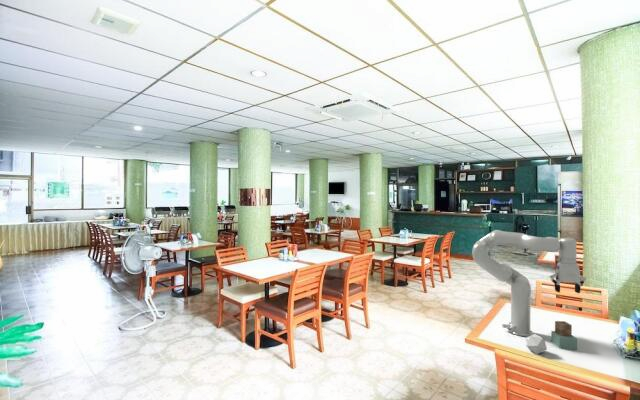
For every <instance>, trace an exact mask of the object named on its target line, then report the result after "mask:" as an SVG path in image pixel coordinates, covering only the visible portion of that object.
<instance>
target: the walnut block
mask: <svg viewBox="0 0 640 400" xmlns="http://www.w3.org/2000/svg"><path fill="white" fill-rule="evenodd" d="M554 331H555V332H556V333H557V334H559V335H560V336H569V337H572V335H573V334H572V324H571V323H569V322H566V321H562V320H561V321H560V320H559V321H558V320H555V321H554Z"/></svg>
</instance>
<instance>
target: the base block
mask: <svg viewBox="0 0 640 400" xmlns="http://www.w3.org/2000/svg"><path fill="white" fill-rule="evenodd" d="M550 341H551V342H552V344H553V345H555V346H556V347H557V348H558V349H563V350H572V351H576V350H578V338H577V336H574V335H573V334H572V337H569V336H560V335H559V334H557V333H556V332H555V330H551V338H550Z"/></svg>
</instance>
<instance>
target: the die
mask: <svg viewBox="0 0 640 400" xmlns="http://www.w3.org/2000/svg"><path fill="white" fill-rule="evenodd" d="M524 340H525V346H526V347H527V349H528V350H529V351H531V352H532V353H533V354H535V355H538V354H541V353H542V352H546V351H547V344H546V340H544V338H543V337H541V336H540V335H537V334H536V333H534V334H533V335H531V336H529V337H525V338H524Z"/></svg>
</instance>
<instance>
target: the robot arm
mask: <svg viewBox="0 0 640 400" xmlns="http://www.w3.org/2000/svg"><path fill="white" fill-rule="evenodd" d="M497 246H502V247H503V246H504V247H513V248H520V249H525V250H532V251H537V252H538V251H539V252H546V253H547V252H548V253H555V252H558V258H556V259H555V260H556V261H557V264H556V268H555V273H554V274H551V275H549V278H550V280H551V282H552V283H553V284H554V290H555V292H557V293H560V292H561V285H560V284H561V283H573V284H574V292H575V293H576V294H581V287H582V286H583V284H584V283H585V281H586V280H587V278H586V277H585V276H583V275H581V271H580V266H579V264H578V263H577V240H576V239H575V238H571V237H569V238H568V237H554V236H546V237H540V236H534V235H530V234H526V233H522V232H515V231H514V232H513V231H505V230H500V229H494V230H492V231H490V232H489V233H488V234H487V235H485V236H484V237H482V238H480V239H479V240H477V241H476V242H475V243H474V244H473V247H472V249H471V253H472V258H473V261H474V262H475V264H477V265H478V266H479V267H480V268H482V269H483V270H485V272H486V273H488V274H490V275H491V276H492V277H494V278H495V279H496V280H497V281H499V282H503V283H506V284H508V285H509V286H510V321H508V323H507V324H504V323H502V324H501V326H502V327H501V328H505V329H507V331H508V332H509V333H511V335H512V334H513V335H516V336H519V337H525V338H527V337H529V336H531V335H533V334H535V333H534V331H533V330H531V300H532V299H531V296H532V287H531V286H532V285H531V283H530V280H529V279H528V278H527V277H526V276H525V275H523V274H522V273H520V272H519V271H517V269H514V268H513V267H512V266H510V265H508V264H505V263H500V261H497V260H496V259H494V258H493V257H491V256H490V255H489V252H490V251H491V250H493V249H494V248H496V247H497Z"/></svg>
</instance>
